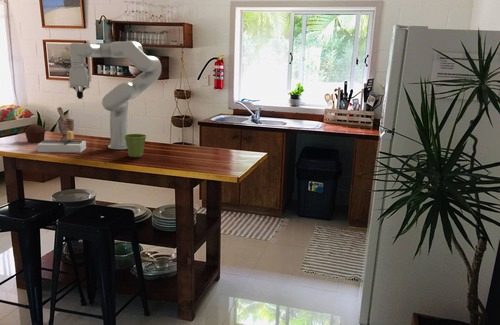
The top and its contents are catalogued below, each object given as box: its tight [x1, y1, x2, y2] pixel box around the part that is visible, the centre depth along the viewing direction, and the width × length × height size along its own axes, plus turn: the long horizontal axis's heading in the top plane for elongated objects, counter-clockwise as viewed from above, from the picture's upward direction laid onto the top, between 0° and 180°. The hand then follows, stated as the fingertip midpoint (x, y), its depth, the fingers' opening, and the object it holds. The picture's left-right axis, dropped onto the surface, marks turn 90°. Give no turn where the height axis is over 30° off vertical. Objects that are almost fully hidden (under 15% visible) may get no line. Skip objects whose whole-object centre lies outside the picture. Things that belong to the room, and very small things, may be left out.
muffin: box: [23, 124, 47, 144], centre depth 249 cm, size 12×11×10 cm
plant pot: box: [124, 133, 148, 158], centre depth 226 cm, size 12×12×11 cm
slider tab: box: [66, 130, 75, 142], centre depth 232 cm, size 2×4×6 cm, turn 7°
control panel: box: [36, 139, 87, 154], centre depth 233 cm, size 22×12×5 cm, turn 97°
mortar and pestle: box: [56, 107, 75, 141], centre depth 255 cm, size 12×9×20 cm
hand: (80, 98), depth 242 cm, fingers closed
